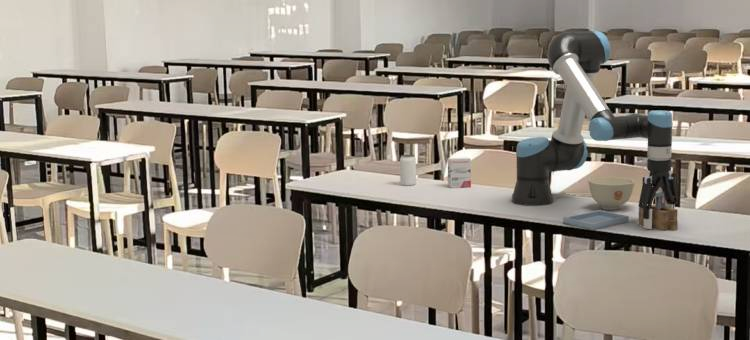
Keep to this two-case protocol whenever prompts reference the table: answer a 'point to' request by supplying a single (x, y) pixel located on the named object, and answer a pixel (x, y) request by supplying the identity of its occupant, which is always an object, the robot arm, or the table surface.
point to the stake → (658, 200)
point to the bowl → (611, 191)
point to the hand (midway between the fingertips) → (658, 225)
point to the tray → (596, 220)
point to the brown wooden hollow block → (661, 218)
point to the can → (407, 170)
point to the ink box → (459, 172)
